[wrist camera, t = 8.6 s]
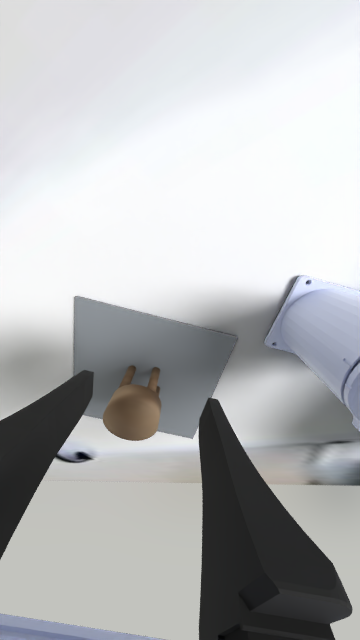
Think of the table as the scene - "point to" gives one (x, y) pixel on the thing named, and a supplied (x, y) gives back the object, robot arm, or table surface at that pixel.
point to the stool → (134, 408)
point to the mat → (149, 360)
